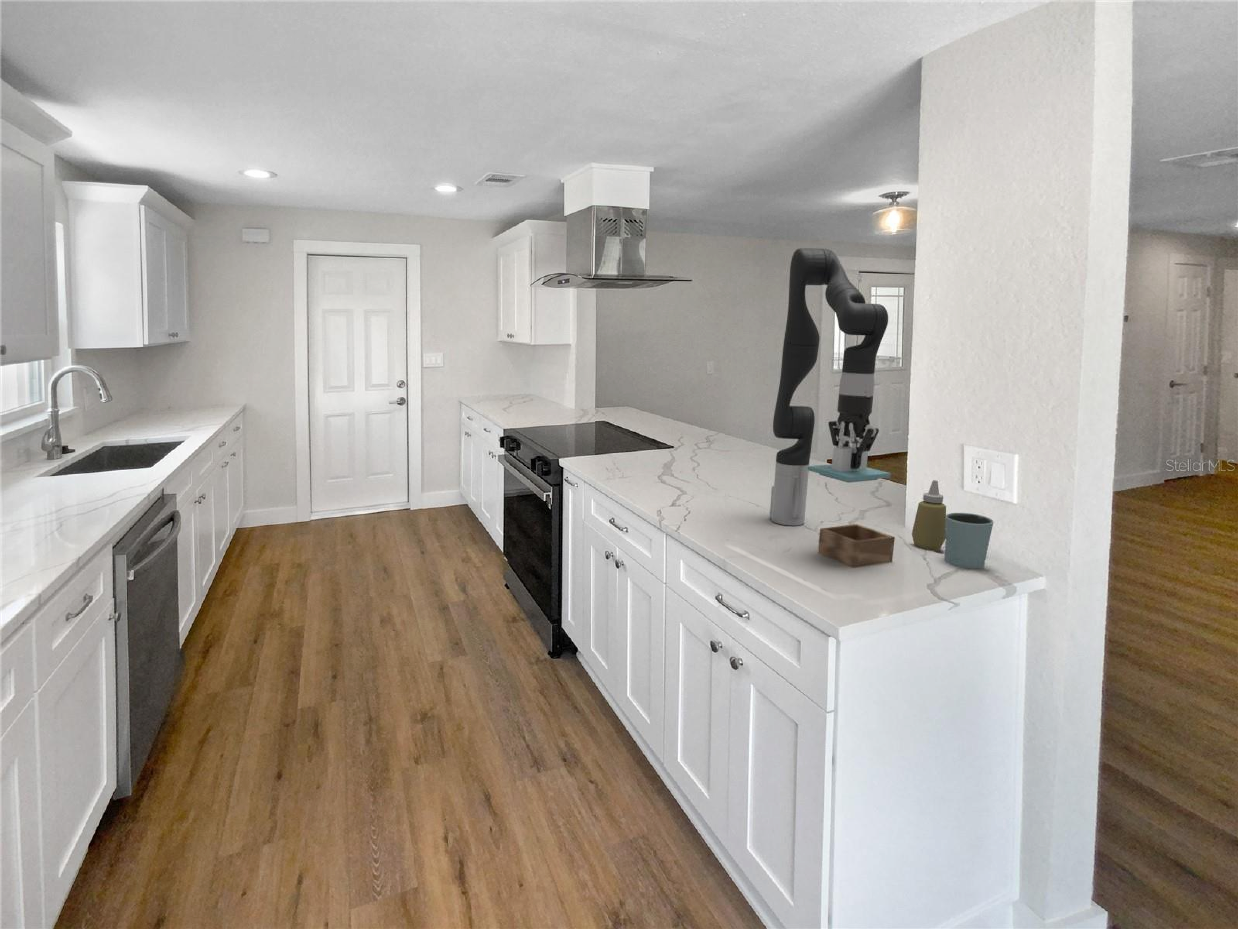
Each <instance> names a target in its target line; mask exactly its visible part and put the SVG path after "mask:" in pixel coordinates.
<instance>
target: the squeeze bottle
mask: <svg viewBox="0 0 1238 929" xmlns="http://www.w3.org/2000/svg"><path fill="white" fill-rule="evenodd" d="M939 490H940V489H939V482H938V480H936V479H935V480H934V479H933V480H932V481H931V484H930V487H929V490H928V492H925V493H923V497H922V501H920V502H918V503H917V504H918V505H917V508H916V513H915V518H914V521H913V522H914V523H913V527H912V532H911V536H912V540H913V545H914V546H915V547H916V548H917V547H918V548H921V549H924V550H928V551H932V552H934V553H937V552H940V551H941V548H942V547H943V545H944V542H945V541H946V539H945V537H946V536H945V533H946V515H947V506H946V505H945V504H944V503H943V502H944V495H943V494H940V491H939Z"/></svg>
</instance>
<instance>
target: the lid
mask: <svg viewBox="0 0 1238 929" xmlns="http://www.w3.org/2000/svg"><path fill="white" fill-rule="evenodd" d="M832 448H833V450H832V459H831V464H818V465H809V466H808V471H809V472H812V473H816V474H819V475H820V476H823V477H826V478H829V479H835V480H838V481H841V482H844V483H847V484H848V483H858V482H869V481H878V479H879V480H880V479H886V478H887V479H888V478H889V479H890V478H891V477H892V476H891V475H892V474H891V472H887V471H882V470H879V469H875V468H871V467H868V466H867V465H868V453H869V451H865V452H863V453H862V458H861V465H860V467H859V469H851V457H852V453H853V451H852V445H850V446H848V447H837V446H834V447H832Z"/></svg>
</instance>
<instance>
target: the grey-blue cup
mask: <svg viewBox="0 0 1238 929" xmlns="http://www.w3.org/2000/svg"><path fill="white" fill-rule="evenodd" d="M994 522H995V521H994V520H993V519H992V518H990V517H988V516H984V515H982V514H981V515H980V514H976V513H970V512H969V513H968V512H951V513H950V512H949V513H946V533H945V536H946V537H945V541H944V542H945V544H944V562H946V563H947V564H949V565H951V566H955V567H959V568H965V569H982V570H984V569H985V564H986V562H985V561H986V558H987V555H988V554H987V553H988V549H989V548H988V547H989V545H990V544H989V543H990V539H991V535H992V531H993V525H994Z"/></svg>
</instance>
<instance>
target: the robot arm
mask: <svg viewBox="0 0 1238 929" xmlns="http://www.w3.org/2000/svg"><path fill="white" fill-rule="evenodd" d="M788 283H789V285H788V306H787V307H788V308H787V317H786V324H785V329H784V330H785V331H784V338H783V347H782V356H781V369H780V378H779V386H778V391H777V395H776V396H777V397H776V401H775V402H776V403H775V409H774V412H773V413H774V415H773V420H772V421H773V422H772V431H773V435H774V437H775V438H777V439H784V440H786V439H787V440H788V439H789V440H797V441H796V442H795V443H794V444H793V445H791V446H789V447H788V448H784V449H781V450H778V451H777V452H776V456H775V468H774V480H773V481H774V482H773V485H772V487H771V493H770V494H771V495H770V507H769V519H771V521H772V522H773V523H775V524H778V525H782V526H802V525H804V524H805V521H806V520H805V518H806V509H807V507H806V506H807V496H808V483H809V472H810V471H808V466H810V460H811V452H812V444H813V436H814V432H815V431H814V430H815V420H816V419H815V418H816V417H815V411H814V409H813V408H812V407H811V406H808V405H807V406H803V405H802V406H801V405H791V401H792V400H793V395H794V394H795V392H796V390H797V388H798V387H799V385H800V384H801V382H803V380H804V379H805V378H806V377H807V376H808V374H809V373H810V372H811V371H812V370H813V368H814V366H815V365H816V362H817V361H818V354H819V348H820V347H819V346H820V332H819V330H818V327H817V325H816V324H815V323H816V322H815V321H814V319H813V317H812V315H811V313H810V312H809V308H808V306H807V302H806V300H807V299H806V286H823V285H824V286H826V289H825V293H824V295H825V301H826V302H827V304H828V305H829V307H830V308H831V310H833V312H834V313H835V314H836V319H837V324H838V328H839V330H840V331H841V332H842V333H843V334H845V335H849V336H864V338H863V340H862V341H861V343H860V344H856V345H851V346H848V347H846V348H845V349H844V351H843V358H842V365H841V366H842V369H841V377H840V380H839V388H838V401H837V410H836V411H837V412H838V414H839V415H838V417H837V419H836V420H834V421H832V420H831V421H828V427H829V428H828V429H829V433H830V437H831V442H832V445H833V446H834V447H848V446H852V451H853V453H852V457H851V469H859V467H860V465H861V458H862V453H863V452H865V451H868V452H870V451H871V449H872V446H873V444H874V443H875V441H876V438H877V437H878V434H879V432H880V429H879V428H877V427H873V426H872V425H870V424H871V422H870V415H871V414H872V412H873V405H874V404H873V401H874V394H875V392H874V391H875V370H876V360H877V354H878V351H879V348H880V347H881V342H882V340H883V338H884V336H885V332H886V330H887V327H888V324H889V315H888V314H889V313H888V310H887V309H886V307H885V306H884V305H882V304H880V303H866V299H865V296H864V295H863V294H862V292H860V291H859V289H858V288H857V287H856V286H855V285H854V284H853V283H852V282H851V281H850V279H849V278H848V276H847V273H846V271H845V270H844V267H843V266H842V264H841V262H840V259H839V258H838V257H837V255H836V254H835V252H834V251H832V249H831V250H830V249H828V248H813V247H812V248H807V247H806V248H805V247H802V248H801V247H800V248H797V249H796V250H795V251H794V252H793V254H792V257H791V260H790V268H789V282H788Z"/></svg>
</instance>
